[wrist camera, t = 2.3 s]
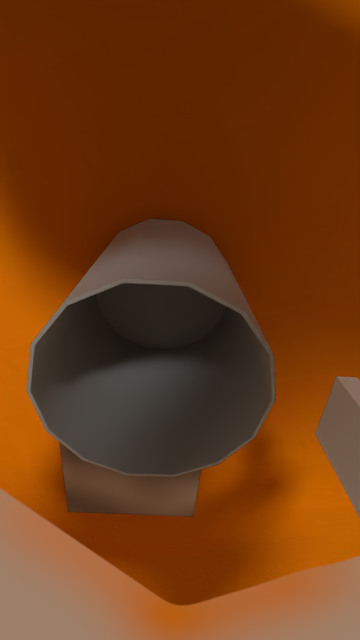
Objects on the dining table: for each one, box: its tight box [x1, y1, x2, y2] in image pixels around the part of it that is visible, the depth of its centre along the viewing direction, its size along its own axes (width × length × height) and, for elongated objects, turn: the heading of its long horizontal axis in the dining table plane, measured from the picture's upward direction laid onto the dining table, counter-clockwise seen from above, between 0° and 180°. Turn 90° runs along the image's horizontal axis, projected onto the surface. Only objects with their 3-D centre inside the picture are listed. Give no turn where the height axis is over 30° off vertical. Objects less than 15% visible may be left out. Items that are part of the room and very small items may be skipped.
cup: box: [26, 219, 275, 477], centre depth 15 cm, size 8×8×10 cm
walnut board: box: [60, 442, 201, 517], centre depth 25 cm, size 14×11×1 cm
